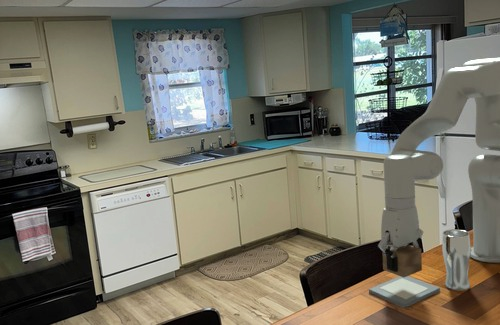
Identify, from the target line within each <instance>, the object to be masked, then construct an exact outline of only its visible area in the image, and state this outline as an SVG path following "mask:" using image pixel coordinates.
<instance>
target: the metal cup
mask: <svg viewBox="0 0 500 325" xmlns="http://www.w3.org/2000/svg"><path fill="white" fill-rule="evenodd" d="M441 241H442V245H441V246H442V248H441V249H442V256H443V260H444V265H445V266H444V267H445V271H446V272H445V274H446V276H445V281H444V282H445V283H444V285H445V287H446V288H447V289H449V290H453V291H458V292H459V291H467V290H468V289H470V281H469V268H470V260H471V257H470V255H471V247H472V246H471V236H470V232H469V231H467V230H465V229H460V228H459V229H458V228H457V229H455V228H453V229H446V230H444V231H442V240H441Z"/></svg>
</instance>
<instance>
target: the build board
mask: <svg viewBox="0 0 500 325" xmlns="http://www.w3.org/2000/svg"><path fill="white" fill-rule="evenodd" d="M440 292H441V288H440V287H439V286H436V285H433V284H431V283H427V282H425V281H423V280H420V279H417V278H414V277H412V276H410V275H409V276H407V277H404V278H403V277H401V276H397V277H394V278H391V279H390V280H387V281H384V282H383V283H380V284H378V285H375V286H373V287H371V288H369V289H368V293H369V294H372V295H374V296H376V297H378V298H380V299H382V300H384V301H388V302H390V303H391V304H393V305H396V306H398V307H400V308H402V309H406V308H407V307H410V306H412V305H414V304H417V303H418V302H420V301H422V300H424V299H427V298H429V297H431V296H433V295H435V294H438V293H440Z"/></svg>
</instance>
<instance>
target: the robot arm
mask: <svg viewBox="0 0 500 325" xmlns="http://www.w3.org/2000/svg"><path fill="white" fill-rule="evenodd" d="M469 99H474V101H475V107H476V108H475V112H476V114H475V143H476V145H477V147H478V148H480V149H482V150H487V151H496V152H497V151H498V152H500V57H491V58H480V59H473V60H469V61H466V62H464V63H463V64H462V65H461V66H460V67H454V68H450V69H448V70H446V71H445V72H444V74H443V75H442V77H441V78H440V81H439V83H438V85H437V87H436V89H435V92H434V93H433V96H432V98H431V99H430V102H429V104H428V106H427V109H426V111H425V112H424V113H423V114H422V115H421V116H419V117H418V118H417V119H415V120H414V121H413V122H412V123H411V124H409V126H407V127H406V128H405V129H404V130H403V131H402V132H401V134H400V135H399V136H398V137H397V139H396V142H395V143H394V146H393V148H392V150H391V153H390V155H387V156H386V157H385V158H383V182H384V183H383V185H384V205H385V206H384V208H383V210H382V215H381V229H380V230H381V232H380V237H381V240H380V241H379V243H378V244H377V247H378V248H379V249H380V250H381V252H383V253H384V255H386V258H387V269H388V270H391V271H394V272H397V271H398V265H397V257H395V256H396V253H397V249H398V247H400V246H403V245H406V244H407V245H411V246H414V247H417V248H420V245H419V244H420V242H421V241H422V237H423V234H424V231H423V230H422V229H421V228H420V224H419V222H420V221H419V214H418V209H417V206H416V183H415V182H416V181H430V180H434V179H436V178H437V177H439V176H440V175H441V173H442V172H443V168H444V162H443V158H442V157H441V156H440V154H437V153H435V152H432V151H428V150H418V149H417V148H418V147H419V146H420V145H422V143H424V141H426V140H428V139H430V138H432V137H434V136H436V135H438V134H440V133H444V132H446V131H448V130H451V129H453V127H456V125H457V123H458V121H459V118H460V116H462V112H463V110H464V107H465V106H466V103H467V101H468V100H469ZM467 168H468V169H467V172H468V178H469V182H470V186H471V187H470V188H471V193H472V234H473V235H472V238H473V241H472V242H473V243H472V245H473V246H471V255H470V258H472V259H474V260H476V261H479V262H483V263H492V264H493V263H496V264H499V263H500V154H499V155H498V154H481V155H480V154H479V155H477V156H475V157H473V158H472V159H471V160H470V162H469V164H468V167H467ZM391 247H393V250H392V252H391V251H390V249H391ZM383 253H382V254H383Z"/></svg>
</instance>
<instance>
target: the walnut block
mask: <svg viewBox="0 0 500 325" xmlns="http://www.w3.org/2000/svg"><path fill="white" fill-rule="evenodd" d="M392 250H393V247H391V249H390V251H391V252H392ZM381 252H382V251H381ZM381 254H382V269H383V271H385V272H387V273H388V272H389V274H390V273H391V274H393V275H395V276H397V277H399V276H401V277H403V278H404V277H407V276H409V277H410V276H412V275H414V274H417V273H419V272H421V271H423V265H422V264H423V263H422V262H423V261H422V260H423V259H422V248H421V247H419V248H417V247H414V246H411V245H407V244H406V245H403V246H400V247H398V249H397V253H396V256H395V257H397V265H398V271H397V272H394V271H391V270H388V269H387V258H386V255H384V253H383V252H382V253H381Z"/></svg>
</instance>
